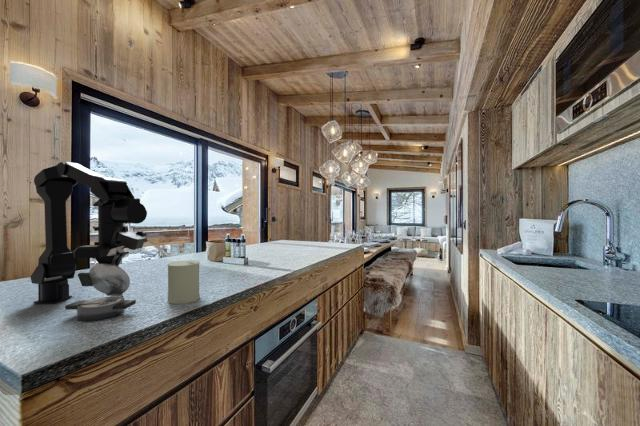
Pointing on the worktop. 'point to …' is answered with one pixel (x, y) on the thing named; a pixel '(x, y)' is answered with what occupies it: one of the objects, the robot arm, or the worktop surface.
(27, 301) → the worktop surface
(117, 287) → the lid
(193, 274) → the can
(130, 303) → the pot
